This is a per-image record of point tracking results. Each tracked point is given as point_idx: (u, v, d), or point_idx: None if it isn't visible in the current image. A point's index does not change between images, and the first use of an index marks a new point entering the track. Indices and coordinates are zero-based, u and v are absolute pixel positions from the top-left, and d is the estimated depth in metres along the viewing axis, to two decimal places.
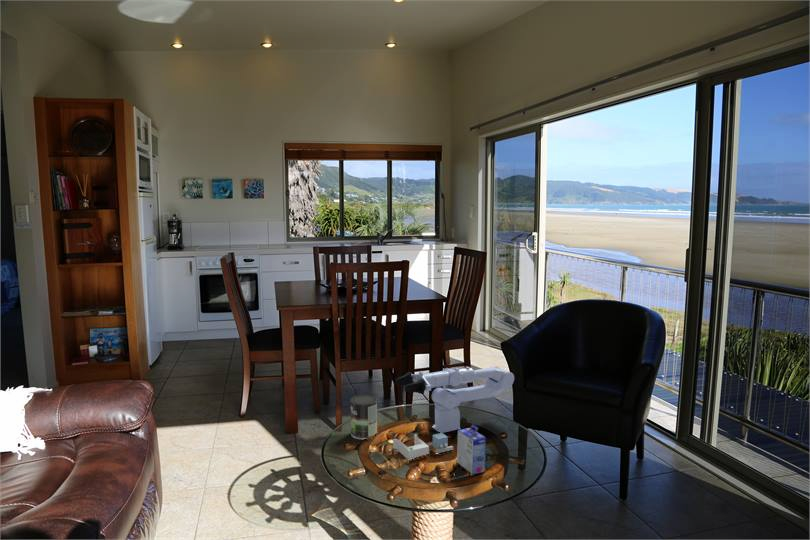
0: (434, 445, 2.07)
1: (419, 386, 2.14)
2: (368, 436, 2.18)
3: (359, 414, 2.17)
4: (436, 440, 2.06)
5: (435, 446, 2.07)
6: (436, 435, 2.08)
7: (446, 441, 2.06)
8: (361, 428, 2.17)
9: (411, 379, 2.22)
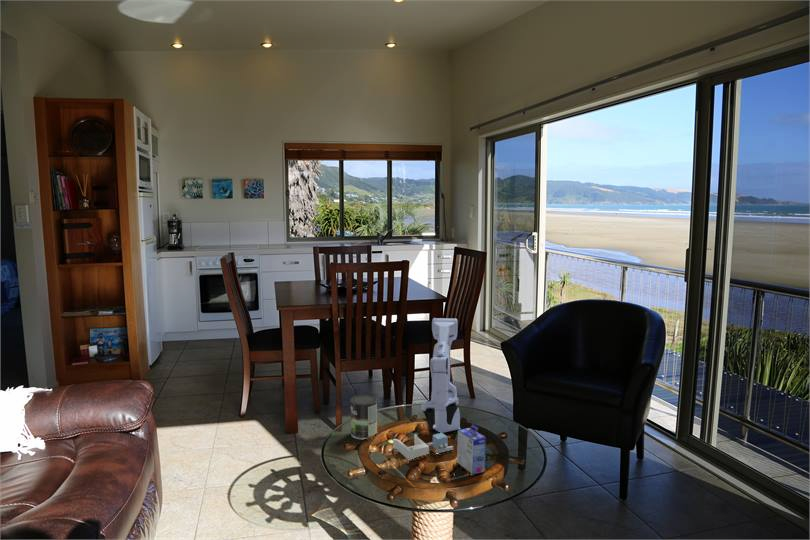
0: (434, 445, 2.07)
1: None
2: (368, 436, 2.18)
3: (359, 414, 2.17)
4: (436, 440, 2.06)
5: (435, 446, 2.07)
6: (436, 435, 2.08)
7: (446, 441, 2.06)
8: (361, 428, 2.17)
9: None
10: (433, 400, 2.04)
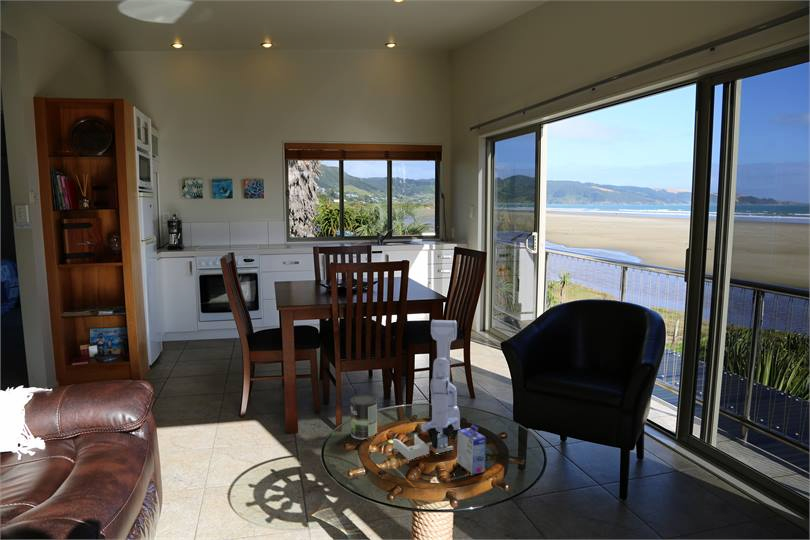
0: None
1: None
2: (368, 436, 2.18)
3: (359, 414, 2.17)
4: None
5: None
6: None
7: (446, 441, 2.06)
8: (361, 428, 2.17)
9: None
10: (433, 421, 2.05)
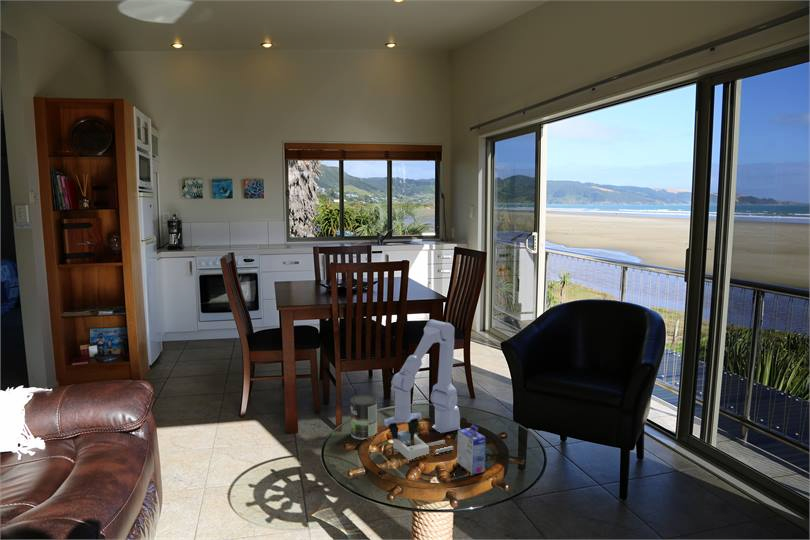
0: None
1: None
2: (368, 436, 2.18)
3: (359, 414, 2.17)
4: (399, 437, 2.10)
5: None
6: (399, 432, 2.12)
7: (409, 438, 2.11)
8: (361, 428, 2.17)
9: None
10: (396, 416, 2.10)
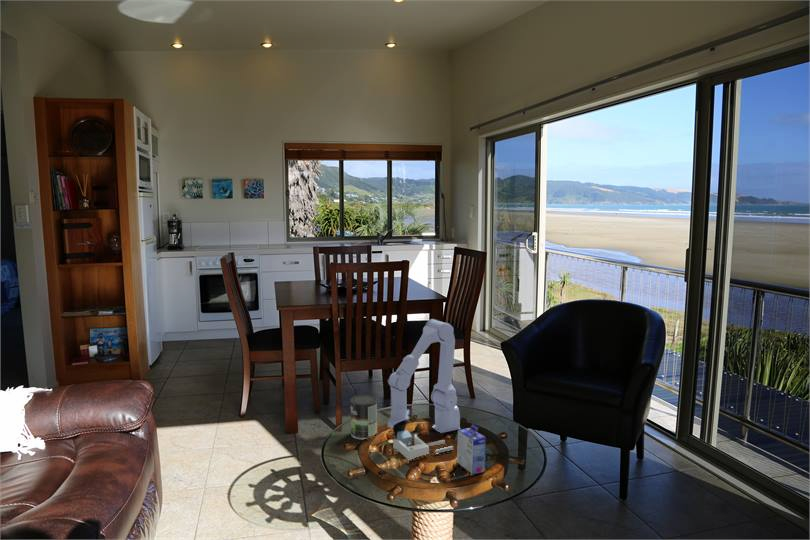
0: None
1: None
2: (368, 436, 2.18)
3: (359, 414, 2.17)
4: (400, 438, 2.09)
5: None
6: (401, 433, 2.11)
7: (410, 440, 2.10)
8: (361, 428, 2.17)
9: None
10: (396, 416, 2.11)
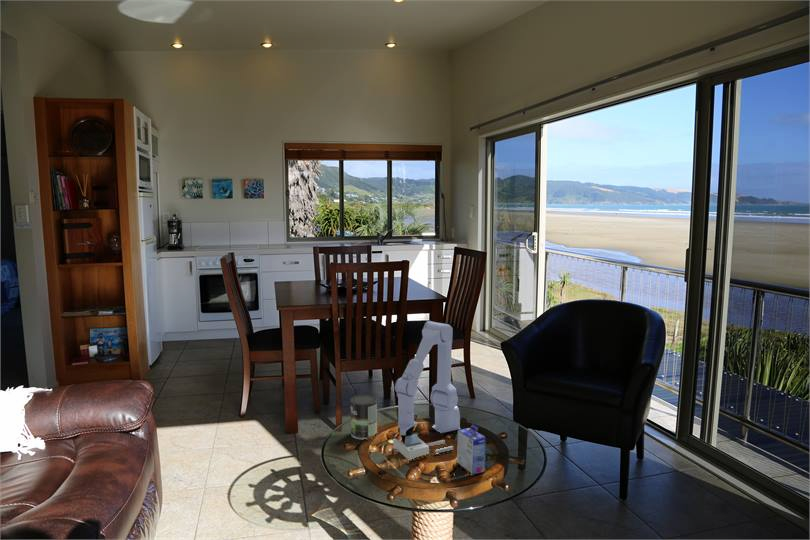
0: None
1: None
2: (368, 436, 2.18)
3: (359, 414, 2.17)
4: (408, 443, 2.04)
5: None
6: (409, 437, 2.06)
7: None
8: (361, 428, 2.17)
9: None
10: (405, 422, 2.06)
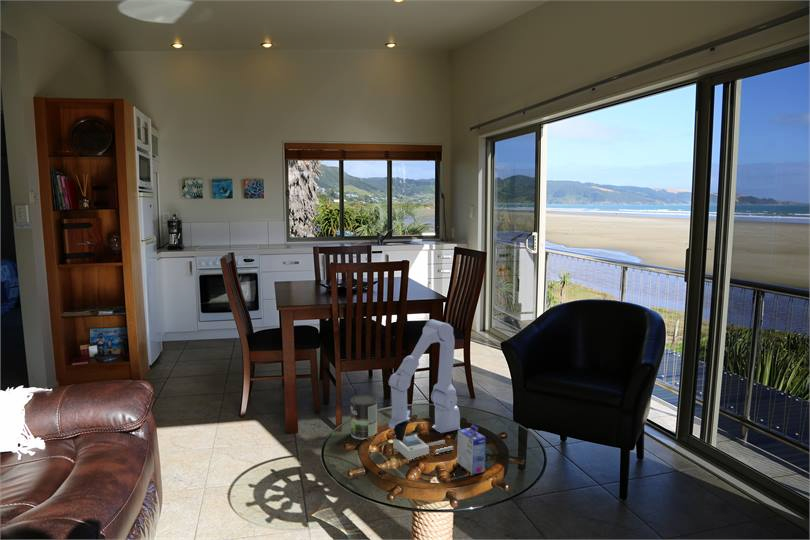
0: None
1: None
2: (368, 436, 2.18)
3: (359, 414, 2.17)
4: (406, 442, 2.06)
5: None
6: (407, 437, 2.08)
7: (417, 443, 2.06)
8: (361, 428, 2.17)
9: None
10: (396, 417, 2.11)
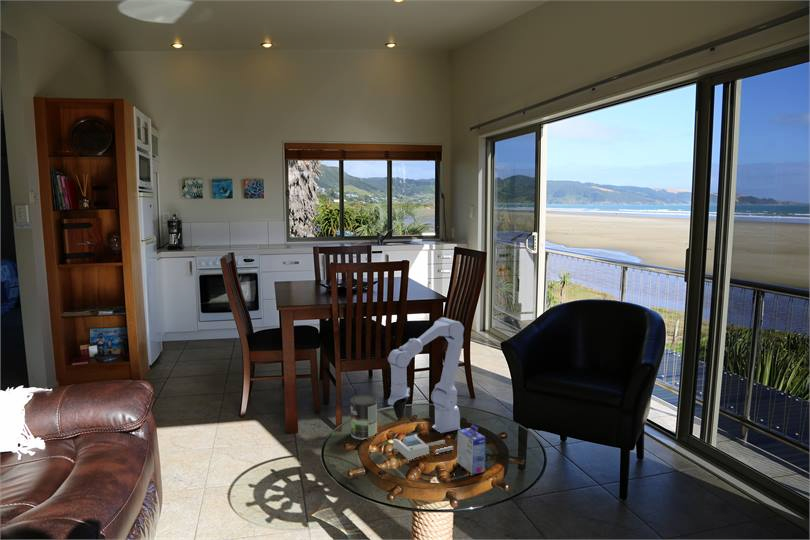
0: None
1: None
2: (368, 436, 2.18)
3: (359, 414, 2.17)
4: (406, 442, 2.06)
5: None
6: (407, 437, 2.08)
7: (417, 443, 2.06)
8: (361, 428, 2.17)
9: None
10: (396, 393, 2.10)
